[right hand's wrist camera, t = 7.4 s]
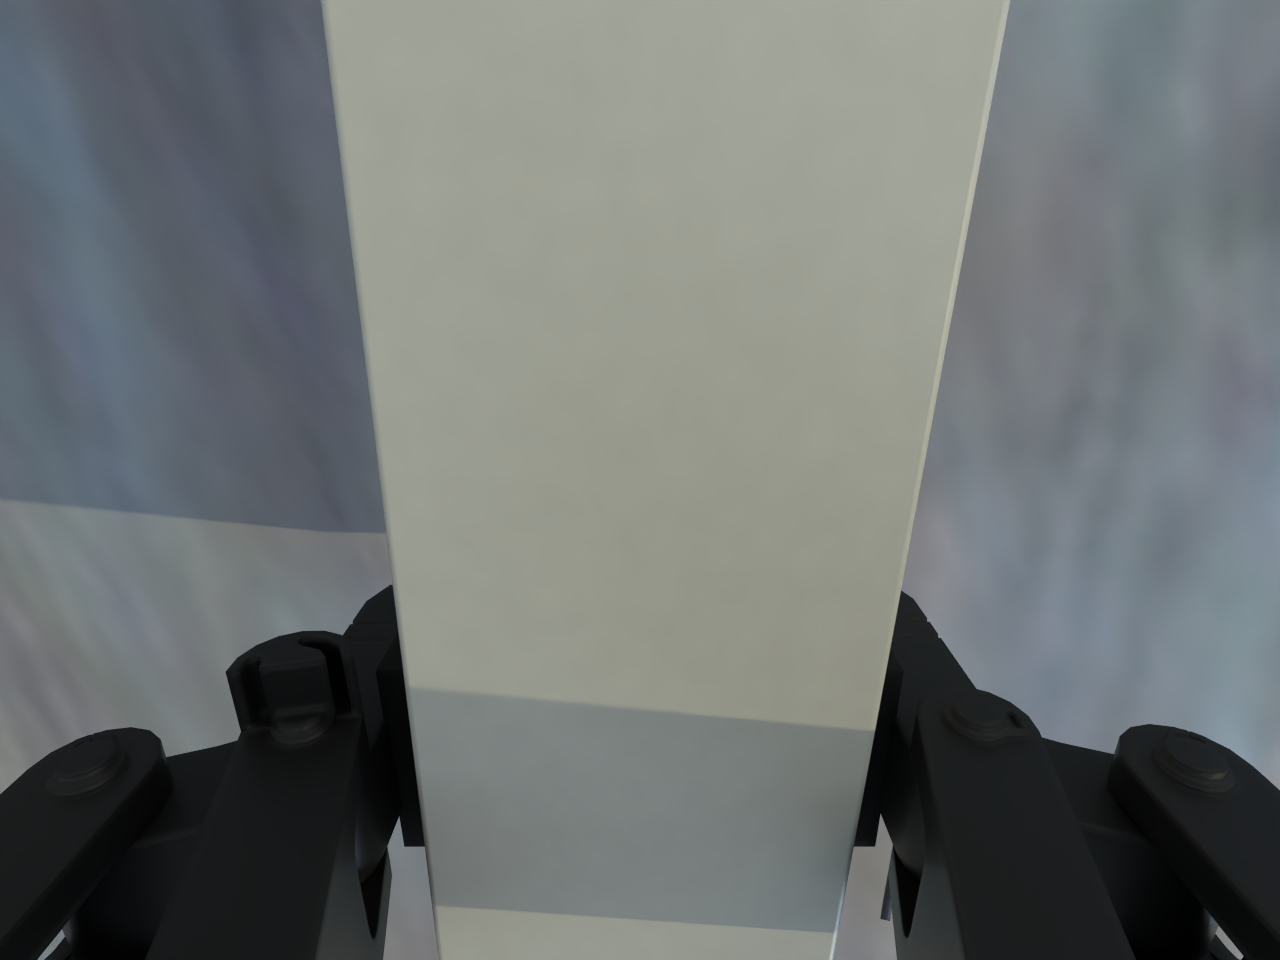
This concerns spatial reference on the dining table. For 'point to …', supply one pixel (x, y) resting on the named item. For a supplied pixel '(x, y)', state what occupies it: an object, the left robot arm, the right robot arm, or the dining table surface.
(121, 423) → the dining table surface
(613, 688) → the bar
